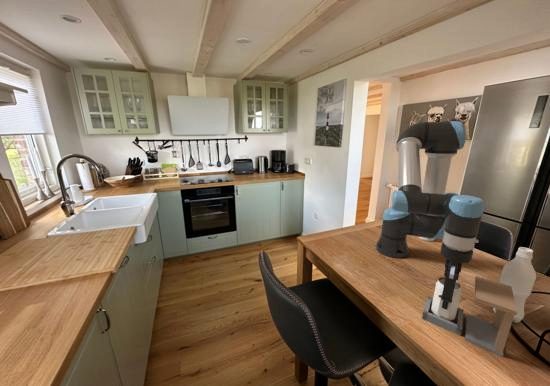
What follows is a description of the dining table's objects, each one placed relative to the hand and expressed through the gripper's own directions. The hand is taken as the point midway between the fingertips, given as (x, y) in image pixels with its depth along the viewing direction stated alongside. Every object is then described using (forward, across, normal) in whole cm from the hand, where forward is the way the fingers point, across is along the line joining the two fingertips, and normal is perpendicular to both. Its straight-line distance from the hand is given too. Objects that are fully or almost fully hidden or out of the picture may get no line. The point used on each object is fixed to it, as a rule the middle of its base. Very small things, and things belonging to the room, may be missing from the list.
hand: (443, 308), depth 73 cm
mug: (+4, +66, +14) cm, 67 cm away
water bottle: (+4, +14, -16) cm, 22 cm away
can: (+2, 0, 0) cm, 2 cm away
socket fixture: (+3, 0, -4) cm, 6 cm away
